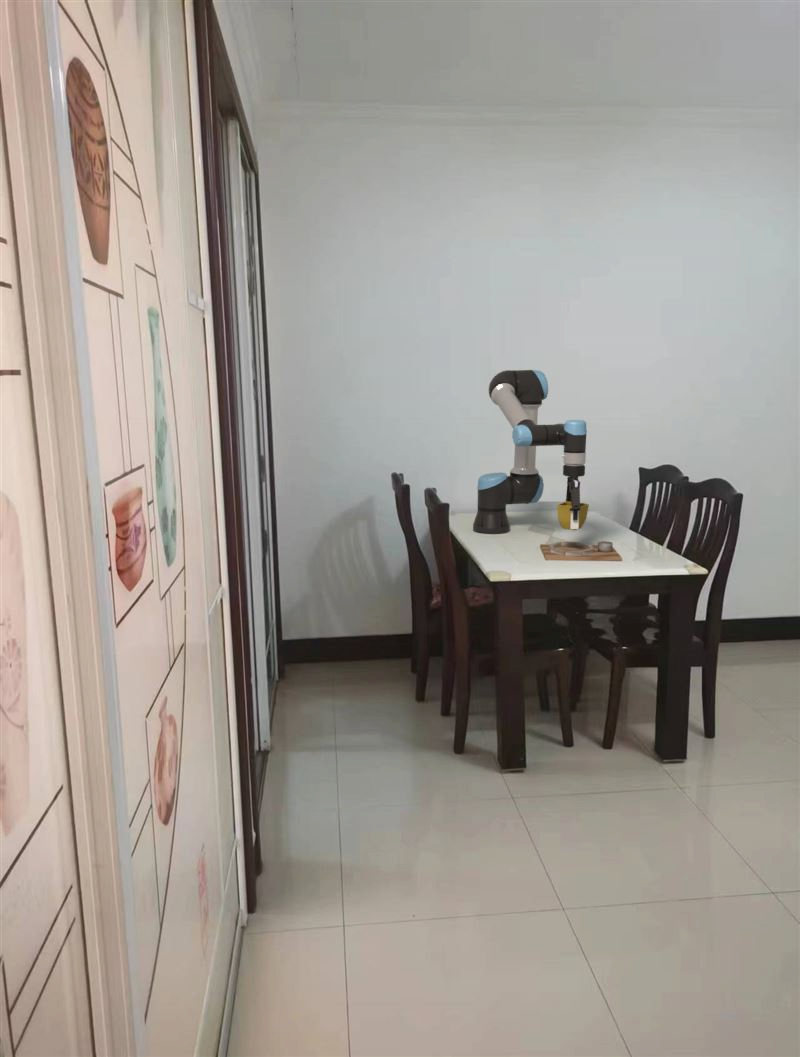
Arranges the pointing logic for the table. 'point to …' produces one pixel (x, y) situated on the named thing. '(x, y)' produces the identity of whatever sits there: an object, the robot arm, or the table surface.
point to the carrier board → (580, 551)
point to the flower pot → (565, 514)
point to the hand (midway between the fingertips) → (572, 525)
